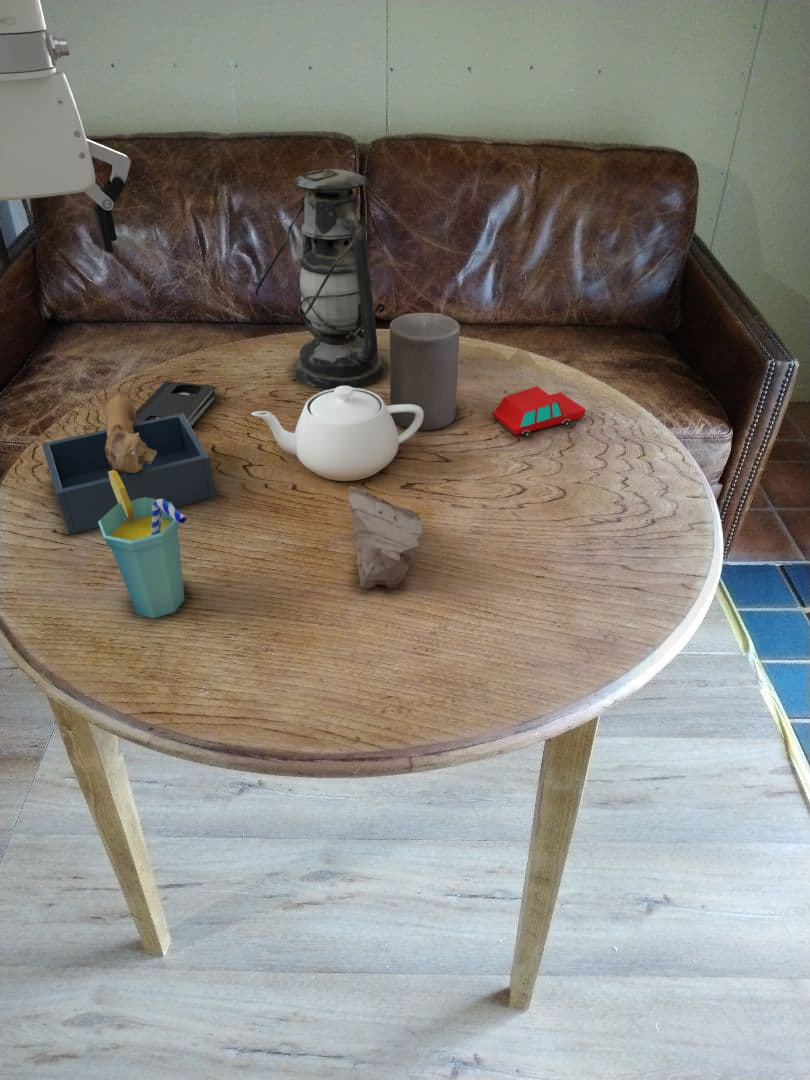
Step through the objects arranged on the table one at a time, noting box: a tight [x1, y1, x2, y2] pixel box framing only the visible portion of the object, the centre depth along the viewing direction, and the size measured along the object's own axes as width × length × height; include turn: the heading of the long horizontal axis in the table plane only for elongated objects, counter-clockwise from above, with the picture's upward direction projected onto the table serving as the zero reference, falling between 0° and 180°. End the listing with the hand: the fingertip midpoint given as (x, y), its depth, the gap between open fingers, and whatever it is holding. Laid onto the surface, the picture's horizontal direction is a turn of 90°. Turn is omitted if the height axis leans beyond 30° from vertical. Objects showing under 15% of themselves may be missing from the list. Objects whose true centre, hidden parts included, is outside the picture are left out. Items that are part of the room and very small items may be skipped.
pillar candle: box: [389, 312, 461, 431], centre depth 112 cm, size 10×10×15 cm
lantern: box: [255, 168, 386, 390], centre depth 118 cm, size 19×19×30 cm
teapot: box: [251, 386, 424, 482], centre depth 102 cm, size 22×14×11 cm, turn 101°
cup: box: [98, 470, 187, 619], centre depth 78 cm, size 14×8×15 cm, turn 50°
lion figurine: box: [105, 394, 157, 475], centre depth 95 cm, size 15×5×9 cm, turn 26°
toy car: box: [491, 385, 587, 437], centre depth 114 cm, size 6×12×4 cm, turn 117°
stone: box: [347, 485, 423, 589], centre depth 87 cm, size 15×9×10 cm
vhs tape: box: [135, 380, 216, 428], centre depth 115 cm, size 14×8×2 cm, turn 169°
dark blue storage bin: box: [41, 413, 217, 535], centre depth 99 cm, size 18×13×6 cm
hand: (58, 255), depth 79 cm, fingers open, 9 cm apart
